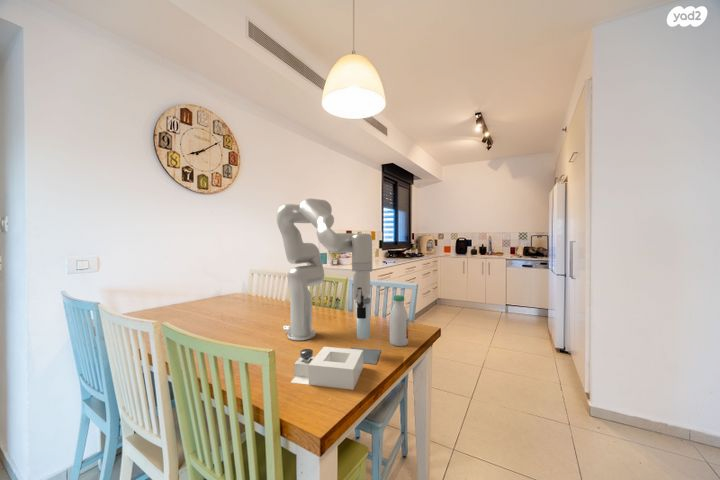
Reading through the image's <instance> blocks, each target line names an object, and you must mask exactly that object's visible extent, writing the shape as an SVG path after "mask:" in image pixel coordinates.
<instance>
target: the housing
mask: <svg viewBox="0 0 720 480" xmlns="http://www.w3.org/2000/svg"><path fill="white" fill-rule="evenodd" d="M293 366H294V367H293V371H294V373H293V374H294V377H293V378H292V379H291V381H290V382H289V383H291V384H292V383H293V384H299V385H310V386H318V387H326V388H335V389H345V390H352V391H353V390H354V389H355V388H356V387H355V386H356V385H357V383H358V381H359V378H360V375H361V374H362V371H363V369H364V363H363V350H357V349H350V348H344V347H343V348H342V347H333V346H332V347H331V346H322V348H321V349H320V351H319V352H318V353H317V354H315V356H312V357H311V358H310V362H309V363H307V362H304V358H301V357H299V358H298V359H297V360H296V361H295V362H294V364H293Z"/></svg>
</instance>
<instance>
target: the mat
mask: <svg viewBox="0 0 720 480" xmlns="http://www.w3.org/2000/svg"><path fill="white" fill-rule="evenodd" d="M349 349H357V350H363V365H364V364H366V365H374V366H375V365H377V363H378V360H379V357H380V354H381V353H382V349H377V348H375V349H373V348H365V347H364V348H362V347H361V348H360V347H350V348H349Z"/></svg>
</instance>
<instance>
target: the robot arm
mask: <svg viewBox="0 0 720 480" xmlns="http://www.w3.org/2000/svg"><path fill="white" fill-rule="evenodd" d="M332 212H333V211H332V206H331V204H330V202H328V201H327V200H325V199H317V198H306V199H304V200H302V201H301V202H300V204H294V203H292V204H291V203H290V204H289V203H288V204H283V205H281V206H279V208H278V210H277V213H276V224H277V227H278V229H279V231H280V232H279V233H281V238H282V241H283V246H284V247H283V248H284V252H285V256H286V259H287V261H288V263H290V265H300V266H295V267H293V268H291V269H290V270H289V271H288V272H287V284H288V287H289V302H290V303H289V304H290V305H289V308H290V313H289V314H290V316H289V318H290V325H288V324H287V325H286V324H284V325H283V327H282V331H284V332H287V334H286V337H287V339H289V340H290V341H296V342H297V341H298V342H299V341H307V340H310V339H313V338H314V337H316V331H315V330H314V329H313V313H312V312H313V309H312V307H313V304H312V303H313V301H312V293H311V292H310V290H309V289H308V287H311V286H317V285H320V284H321V283H322V282H323V281H324V280H325V270H324V265H323V261H322V258H321V253H320V250H319V248H318V246H317V245H316V244H315V243H312V242H304V241H303V238H302V234H301V232H300V230H299V229H298V227H297V226H296V225H295V224H311V225H312V226H314V228H316V237H317V239H318V241H319V243H320V244H321V245H322V246H323V247H324V249H326V250H327V251H328V252H331V253H332V254H336V255H337V254H338V255H339V254H349V253H351V271H352V272H353V275H352V276H353V278H352V279H353V280H352V299H353V300H355V299H356V298H357V317H356V319H357V318H360V319H365V318H366V307H365V299H366V298H367V297H369V296H370V294H371V272H373V238H372V237H373V236H372V234H370V233H351V232H350V233H349V232H348V233H347V232H341V233H338V232H337V233H336V232H335V231H333V229H331V228H332V227H333V225H334V224H335V217H334V215H333V214H332ZM301 264H302V265H301ZM303 264H306V265H303ZM361 297H364V299H361ZM361 300H362V301H363V302H362V301H361Z"/></svg>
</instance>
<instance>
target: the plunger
mask: <svg viewBox="0 0 720 480" xmlns="http://www.w3.org/2000/svg"><path fill="white" fill-rule="evenodd" d="M299 353H300V354H299V355H300V357H301V358H304V362H307V363H309V362H310V358H311V357H314V353H313V349H311V348H304V349H301V350H300V352H299ZM300 357H299V358H300Z"/></svg>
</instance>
